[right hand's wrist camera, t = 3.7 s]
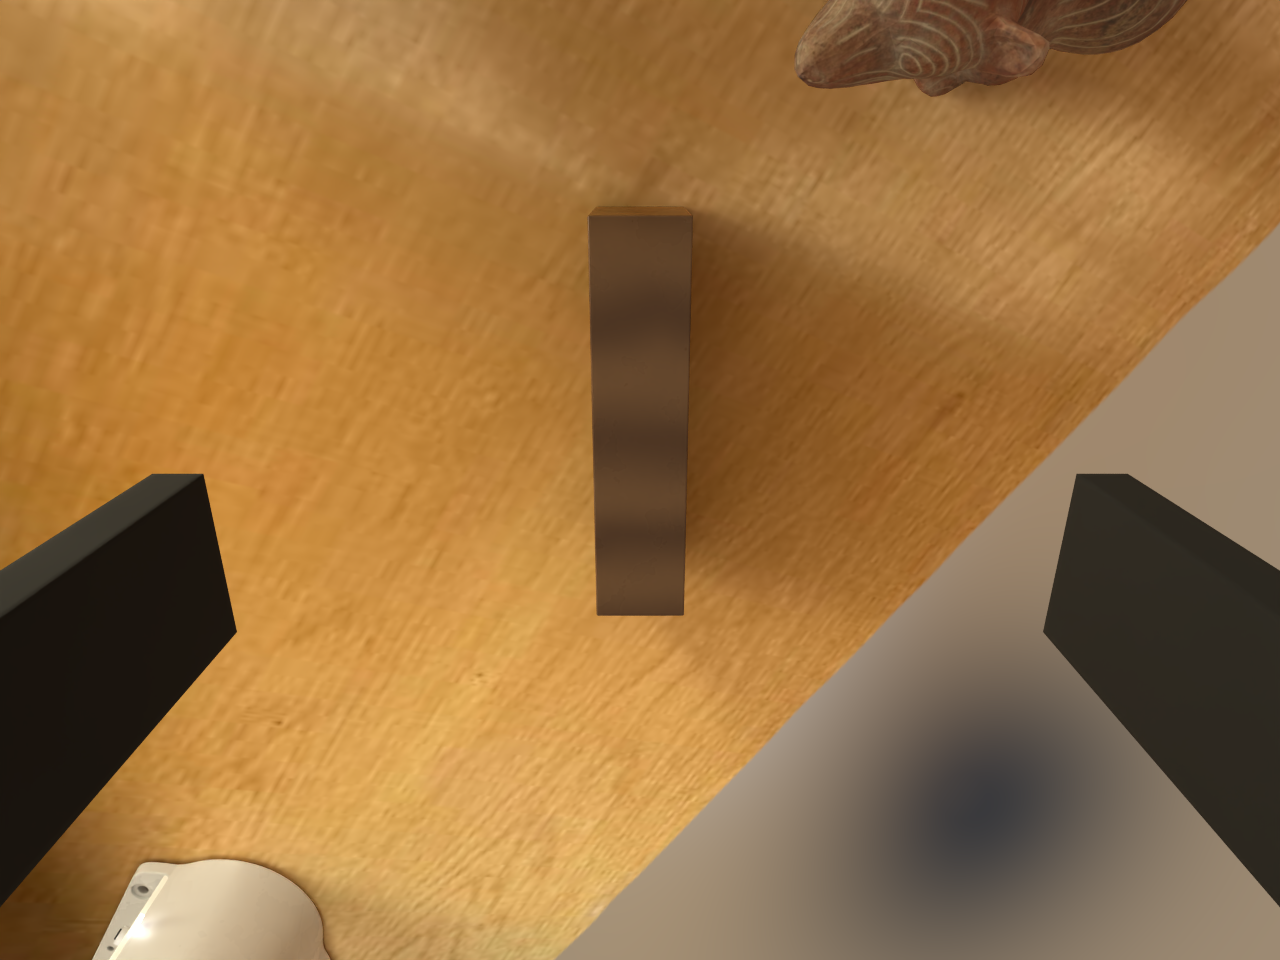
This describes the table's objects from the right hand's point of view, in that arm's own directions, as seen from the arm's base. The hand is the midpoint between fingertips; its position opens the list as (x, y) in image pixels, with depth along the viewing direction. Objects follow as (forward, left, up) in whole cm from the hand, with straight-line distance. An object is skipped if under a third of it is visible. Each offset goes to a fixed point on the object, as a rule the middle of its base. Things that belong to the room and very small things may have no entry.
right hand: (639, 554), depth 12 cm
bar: (+7, +4, -39) cm, 40 cm away
